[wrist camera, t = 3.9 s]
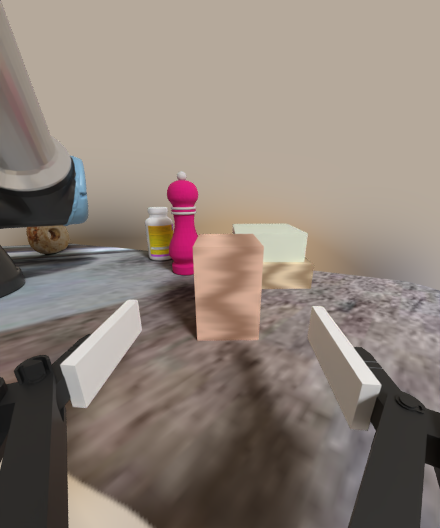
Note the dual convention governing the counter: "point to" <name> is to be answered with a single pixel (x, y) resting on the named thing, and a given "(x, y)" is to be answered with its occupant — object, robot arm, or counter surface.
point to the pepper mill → (183, 224)
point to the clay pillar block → (228, 286)
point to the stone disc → (43, 243)
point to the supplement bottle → (159, 233)
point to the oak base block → (287, 275)
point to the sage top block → (277, 241)
